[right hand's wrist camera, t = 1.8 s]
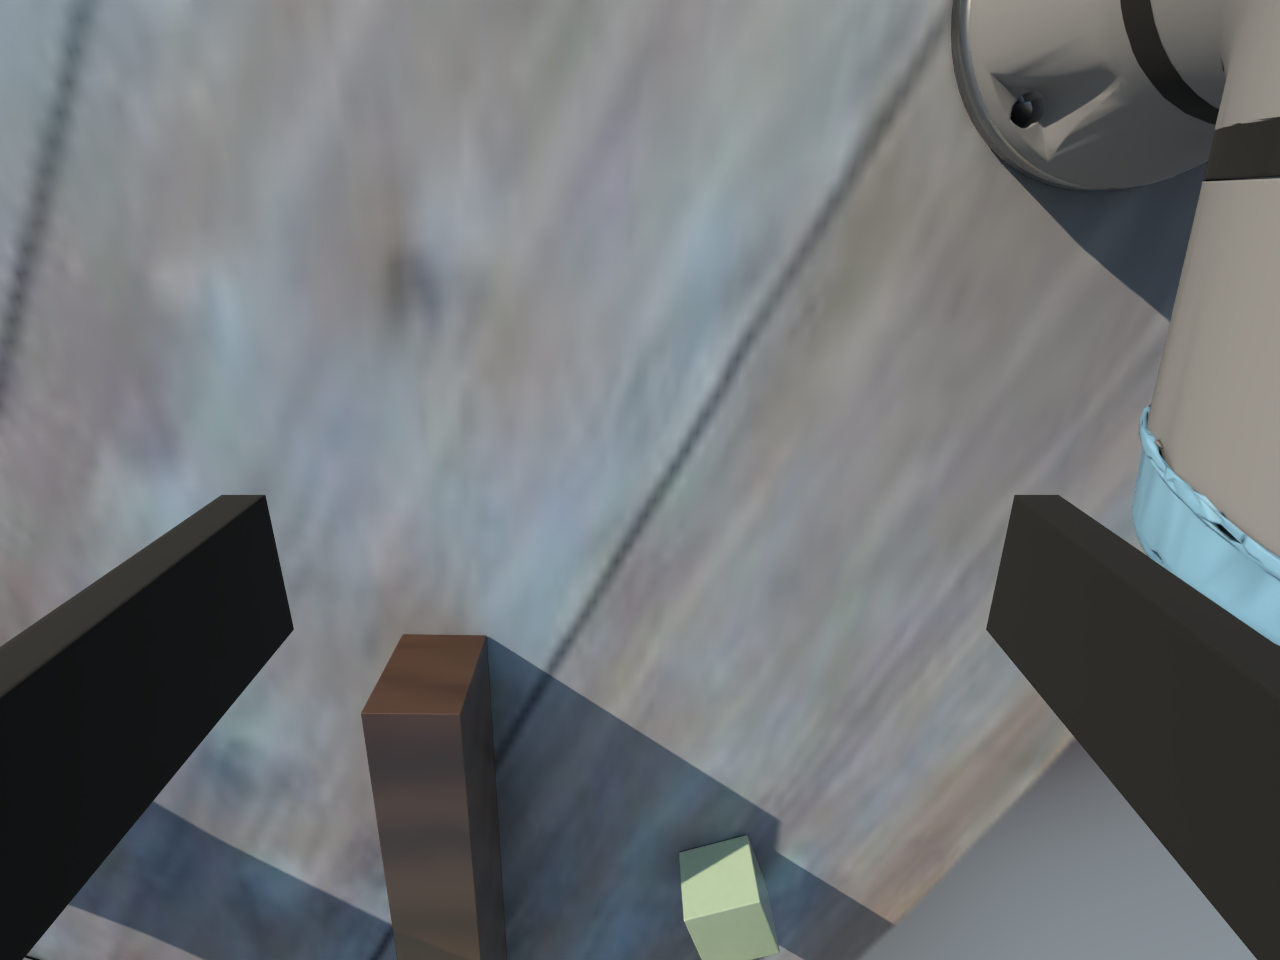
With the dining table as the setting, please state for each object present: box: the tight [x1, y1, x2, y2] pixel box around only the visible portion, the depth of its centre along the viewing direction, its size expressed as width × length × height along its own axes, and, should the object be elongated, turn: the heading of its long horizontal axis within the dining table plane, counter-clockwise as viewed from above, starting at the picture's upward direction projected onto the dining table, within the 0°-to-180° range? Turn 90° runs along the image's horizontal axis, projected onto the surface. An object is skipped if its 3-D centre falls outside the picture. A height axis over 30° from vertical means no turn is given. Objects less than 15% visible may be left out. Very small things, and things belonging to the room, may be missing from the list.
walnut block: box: [361, 635, 507, 960], centre depth 44 cm, size 30×5×7 cm, turn 179°
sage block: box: [679, 835, 780, 960], centre depth 47 cm, size 5×5×5 cm
